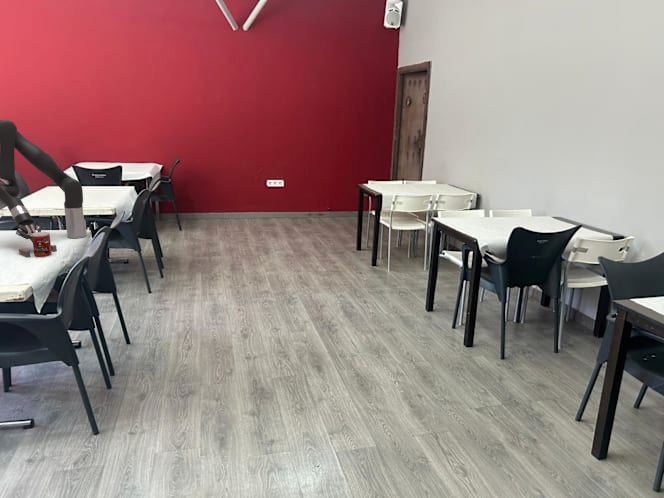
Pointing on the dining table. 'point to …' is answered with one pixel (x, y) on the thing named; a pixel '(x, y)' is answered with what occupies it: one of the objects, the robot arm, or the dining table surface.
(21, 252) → the channel walls
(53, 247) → the posts
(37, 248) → the canned food
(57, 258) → the dining table surface
